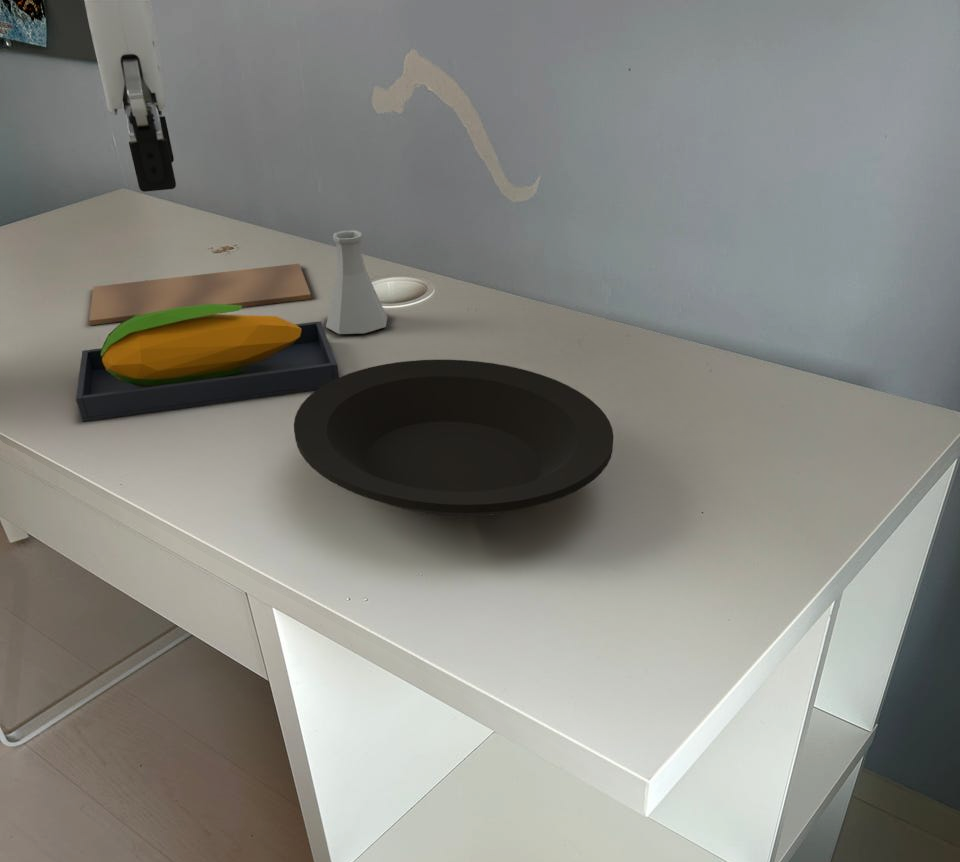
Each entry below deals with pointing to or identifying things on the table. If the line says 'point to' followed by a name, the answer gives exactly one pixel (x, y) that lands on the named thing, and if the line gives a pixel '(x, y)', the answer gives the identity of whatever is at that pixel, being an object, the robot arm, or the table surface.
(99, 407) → the tray
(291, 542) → the table surface
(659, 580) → the table surface
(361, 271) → the flask
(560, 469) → the plate
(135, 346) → the corn
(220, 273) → the board
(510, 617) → the table surface
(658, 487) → the table surface
